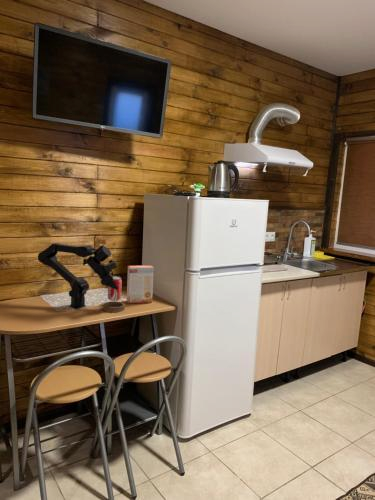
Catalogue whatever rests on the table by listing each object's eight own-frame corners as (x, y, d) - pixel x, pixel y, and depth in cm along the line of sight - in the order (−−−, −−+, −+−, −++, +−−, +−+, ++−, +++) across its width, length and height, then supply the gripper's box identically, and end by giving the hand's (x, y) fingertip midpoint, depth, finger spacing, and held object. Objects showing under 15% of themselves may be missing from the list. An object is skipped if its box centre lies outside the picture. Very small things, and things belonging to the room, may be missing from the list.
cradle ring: (113, 313, 197) (113, 308, 197) (99, 308, 204) (99, 303, 203) (128, 309, 206) (129, 304, 205) (115, 304, 212) (115, 300, 212)
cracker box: (149, 299, 226) (151, 265, 223) (152, 302, 221) (154, 267, 218) (126, 300, 221) (127, 265, 218) (128, 303, 216) (129, 267, 213)
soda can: (104, 298, 205) (106, 276, 202) (116, 296, 209) (117, 275, 207) (111, 302, 199) (112, 279, 197) (123, 300, 204) (124, 278, 202)
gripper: (108, 259, 191) (129, 281, 195) (108, 252, 209) (128, 273, 213) (91, 273, 190) (113, 296, 194) (93, 266, 208) (112, 286, 212)
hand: (117, 287), depth 203 cm, fingers closed on soda can, 7 cm apart
